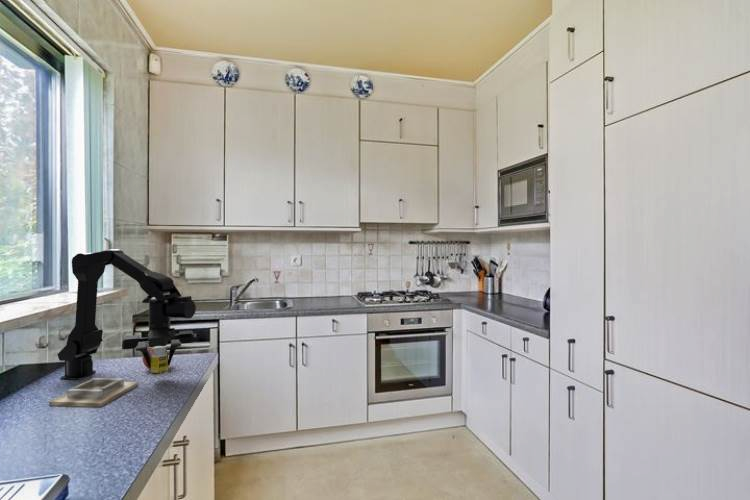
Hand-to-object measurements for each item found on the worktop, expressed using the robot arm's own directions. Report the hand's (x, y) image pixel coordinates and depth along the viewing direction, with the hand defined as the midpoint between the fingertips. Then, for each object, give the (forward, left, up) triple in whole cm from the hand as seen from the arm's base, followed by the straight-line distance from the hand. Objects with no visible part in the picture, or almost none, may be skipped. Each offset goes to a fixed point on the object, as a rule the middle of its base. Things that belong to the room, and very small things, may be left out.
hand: (159, 366), depth 111 cm
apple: (-8, +10, -5) cm, 14 cm away
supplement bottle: (0, 0, -3) cm, 2 cm away
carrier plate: (-11, -11, -5) cm, 16 cm away
